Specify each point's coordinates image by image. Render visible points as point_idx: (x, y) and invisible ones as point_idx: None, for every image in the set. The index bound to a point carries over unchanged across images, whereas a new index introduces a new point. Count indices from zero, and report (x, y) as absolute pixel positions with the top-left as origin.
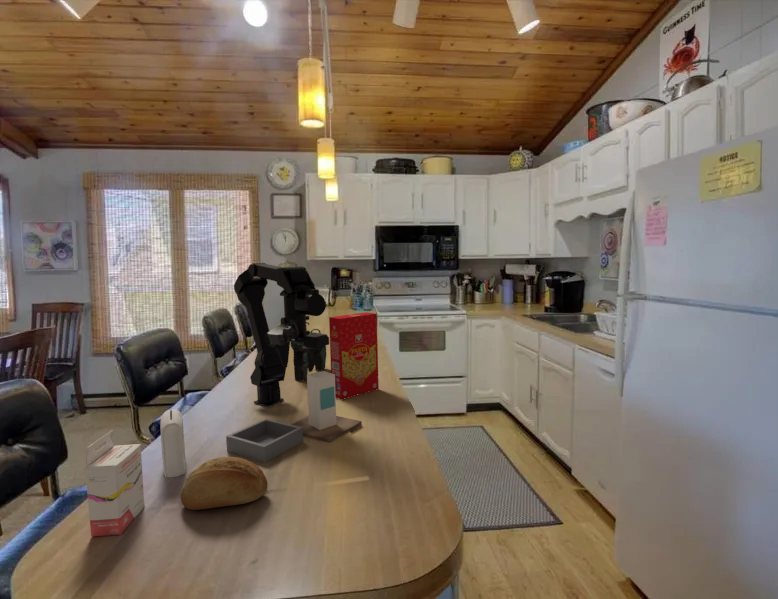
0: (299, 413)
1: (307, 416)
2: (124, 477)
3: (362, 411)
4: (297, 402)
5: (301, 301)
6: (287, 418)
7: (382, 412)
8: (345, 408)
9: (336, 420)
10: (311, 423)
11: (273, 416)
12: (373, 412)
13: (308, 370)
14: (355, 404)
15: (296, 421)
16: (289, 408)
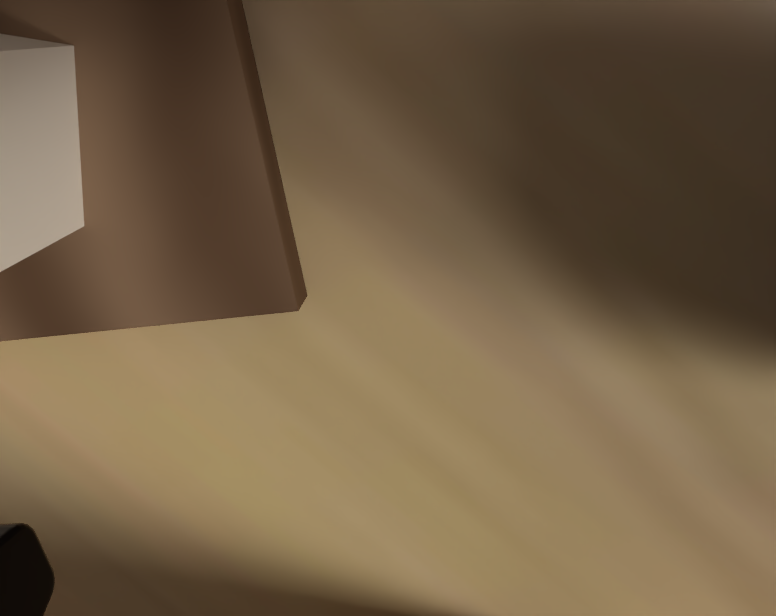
0: (484, 251)
1: (260, 179)
2: None
3: (128, 525)
4: (726, 427)
5: None
6: (478, 95)
7: None
8: (266, 513)
9: None
10: (16, 39)
11: (655, 39)
12: (62, 543)
13: (4, 537)
14: (276, 595)
15: (228, 19)
16: (676, 285)
